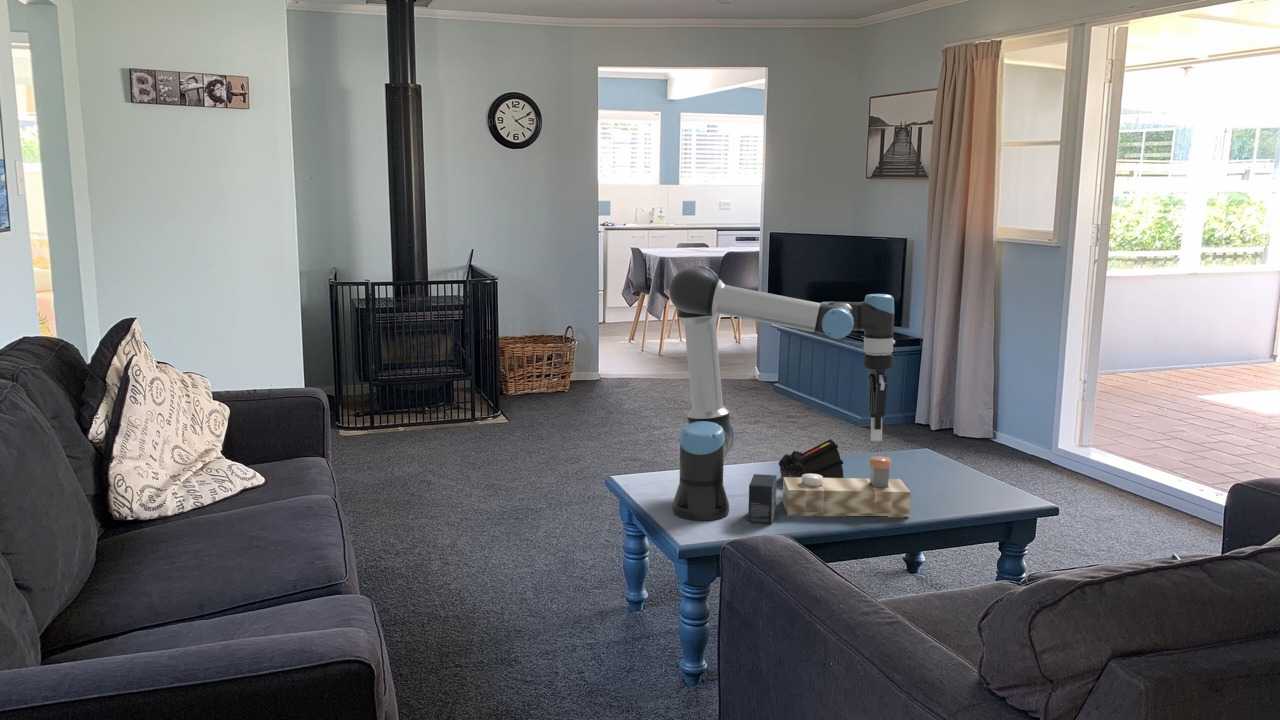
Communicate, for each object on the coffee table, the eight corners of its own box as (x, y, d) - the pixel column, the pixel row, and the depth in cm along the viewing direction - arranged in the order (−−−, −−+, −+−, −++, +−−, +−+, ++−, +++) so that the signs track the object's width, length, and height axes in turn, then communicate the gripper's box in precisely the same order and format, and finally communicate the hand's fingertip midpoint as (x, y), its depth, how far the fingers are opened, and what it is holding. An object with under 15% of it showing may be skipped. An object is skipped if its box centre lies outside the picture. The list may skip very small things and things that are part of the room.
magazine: (855, 486, 278) (835, 441, 275) (814, 507, 277) (794, 462, 274) (850, 482, 282) (831, 438, 278) (810, 503, 281) (790, 458, 277)
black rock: (823, 477, 295) (822, 445, 295) (825, 486, 282) (824, 452, 281) (779, 479, 297) (777, 446, 297) (779, 488, 284) (777, 454, 283)
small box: (752, 510, 261) (753, 472, 260) (776, 512, 260) (777, 474, 258) (746, 523, 251) (748, 484, 249) (772, 525, 250) (773, 486, 248)
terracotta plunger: (870, 488, 259) (872, 461, 257) (866, 482, 264) (867, 456, 263) (891, 489, 258) (893, 462, 257) (887, 483, 264) (888, 456, 263)
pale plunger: (802, 506, 260) (803, 479, 259) (799, 499, 265) (800, 473, 264) (823, 506, 260) (824, 479, 259) (820, 500, 265) (821, 473, 264)
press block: (787, 515, 257) (788, 490, 256) (782, 501, 269) (783, 477, 268) (909, 517, 256) (910, 492, 255) (898, 503, 268) (900, 479, 267)
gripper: (898, 356, 249) (895, 446, 252) (887, 349, 261) (885, 434, 265) (868, 357, 249) (866, 446, 253) (859, 349, 262) (857, 434, 266)
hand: (876, 440), depth 259 cm, fingers closed
